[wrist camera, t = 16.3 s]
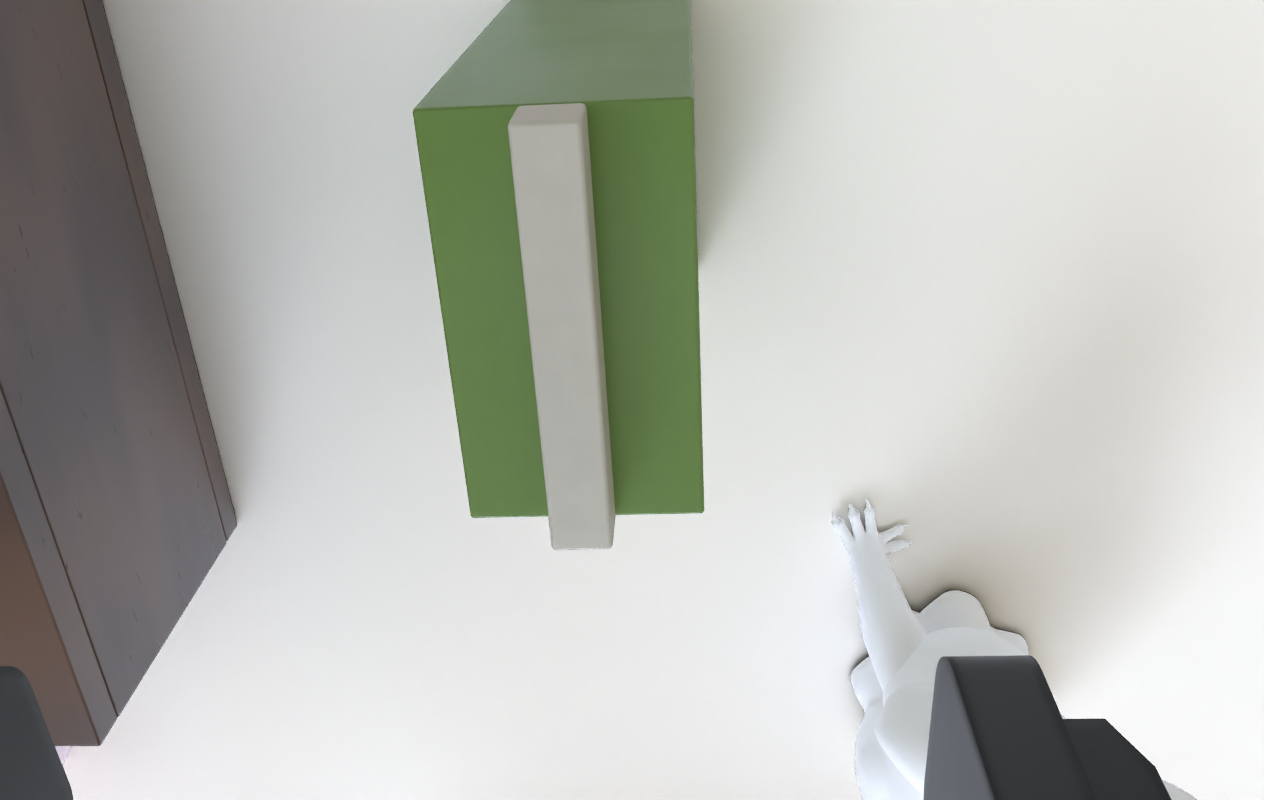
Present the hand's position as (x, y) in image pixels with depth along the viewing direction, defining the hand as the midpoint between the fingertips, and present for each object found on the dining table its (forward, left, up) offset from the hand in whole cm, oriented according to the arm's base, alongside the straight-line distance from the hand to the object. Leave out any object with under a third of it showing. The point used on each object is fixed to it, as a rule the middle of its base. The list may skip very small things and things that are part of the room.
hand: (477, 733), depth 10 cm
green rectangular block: (0, 0, -20) cm, 20 cm away
